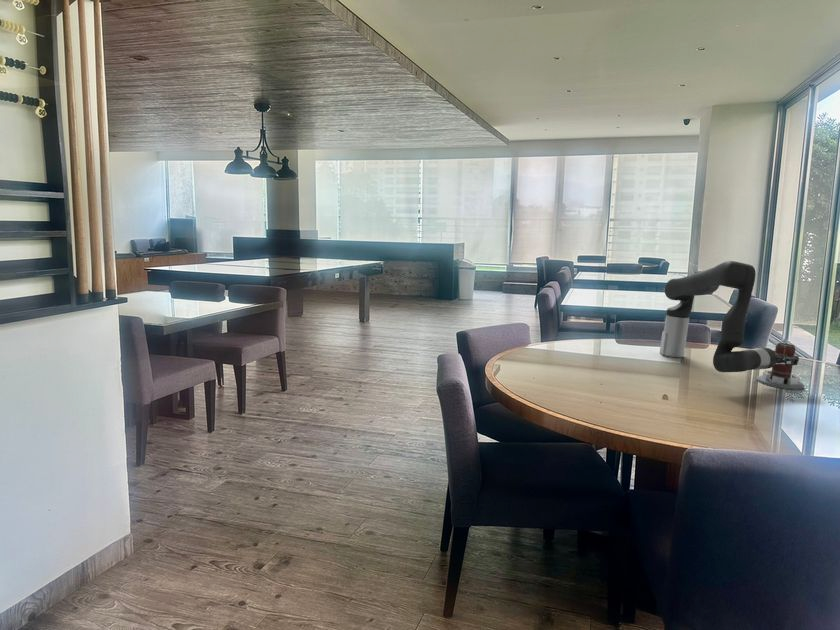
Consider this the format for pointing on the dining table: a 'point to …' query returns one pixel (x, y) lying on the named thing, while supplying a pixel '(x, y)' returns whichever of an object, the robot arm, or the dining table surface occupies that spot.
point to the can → (782, 369)
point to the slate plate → (784, 386)
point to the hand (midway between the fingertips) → (785, 356)
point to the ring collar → (780, 379)
